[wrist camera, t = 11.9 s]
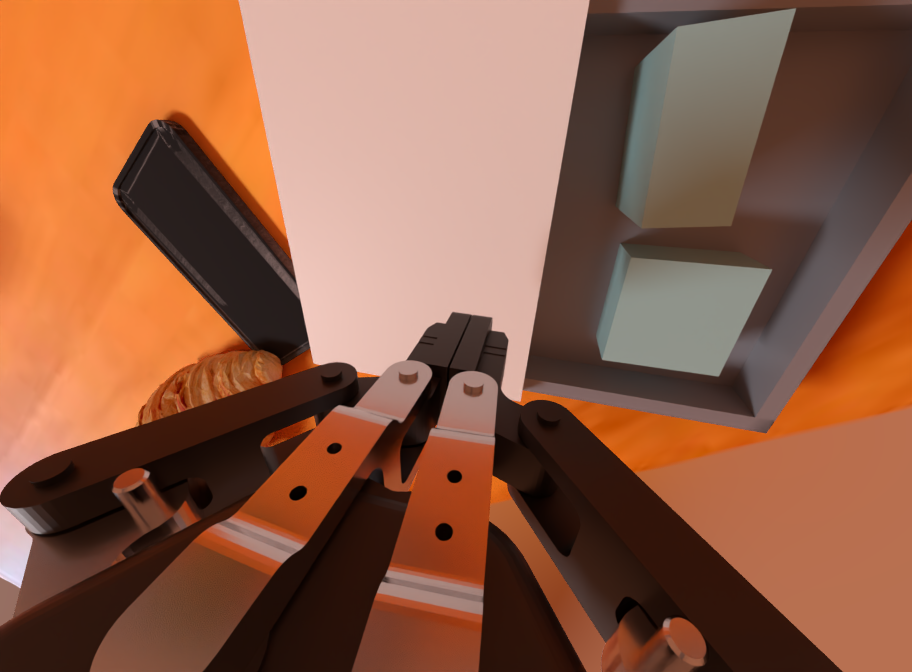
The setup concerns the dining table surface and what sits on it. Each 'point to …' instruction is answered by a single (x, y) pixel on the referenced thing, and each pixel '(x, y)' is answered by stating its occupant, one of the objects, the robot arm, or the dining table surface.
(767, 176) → the box
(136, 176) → the phone
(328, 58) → the white box sleeve
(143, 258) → the dining table surface
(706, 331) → the far tile
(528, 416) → the robot arm
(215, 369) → the croissant
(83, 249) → the dining table surface
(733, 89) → the near tile
